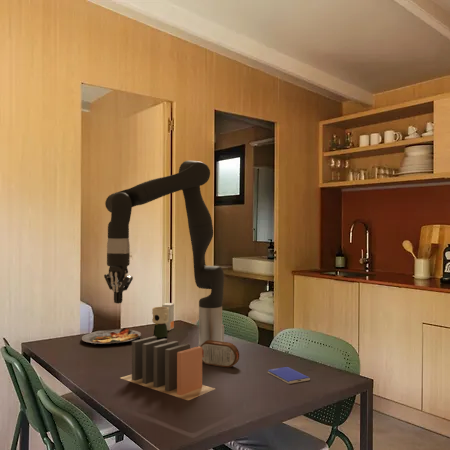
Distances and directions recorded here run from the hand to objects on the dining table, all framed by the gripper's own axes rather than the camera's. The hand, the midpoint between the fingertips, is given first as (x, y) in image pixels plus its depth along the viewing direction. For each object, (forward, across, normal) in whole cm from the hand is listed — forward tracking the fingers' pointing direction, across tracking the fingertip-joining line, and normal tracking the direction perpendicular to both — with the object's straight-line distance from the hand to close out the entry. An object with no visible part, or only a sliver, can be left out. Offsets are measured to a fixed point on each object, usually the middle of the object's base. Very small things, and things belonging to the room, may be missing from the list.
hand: (118, 303), depth 159 cm
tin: (+23, +22, +27) cm, 42 cm away
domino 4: (+22, +28, 0) cm, 36 cm away
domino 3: (+22, +23, 0) cm, 32 cm away
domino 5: (+22, +33, 0) cm, 40 cm away
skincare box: (+23, -34, +56) cm, 69 cm away
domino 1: (+22, +13, 0) cm, 26 cm away
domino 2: (+22, +18, 0) cm, 29 cm away
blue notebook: (+24, +47, +32) cm, 62 cm away
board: (+23, +23, 0) cm, 33 cm away
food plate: (+24, -37, +26) cm, 51 cm away
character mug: (+23, -24, +42) cm, 54 cm away
